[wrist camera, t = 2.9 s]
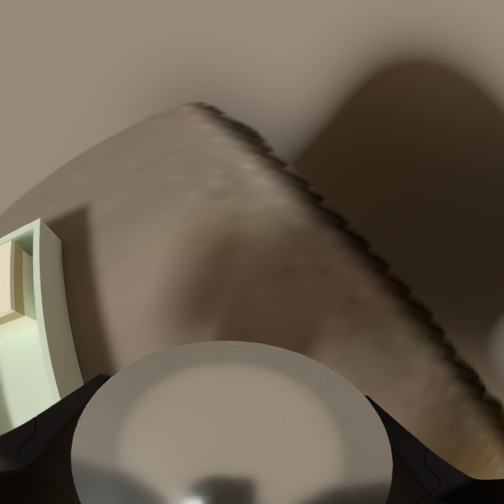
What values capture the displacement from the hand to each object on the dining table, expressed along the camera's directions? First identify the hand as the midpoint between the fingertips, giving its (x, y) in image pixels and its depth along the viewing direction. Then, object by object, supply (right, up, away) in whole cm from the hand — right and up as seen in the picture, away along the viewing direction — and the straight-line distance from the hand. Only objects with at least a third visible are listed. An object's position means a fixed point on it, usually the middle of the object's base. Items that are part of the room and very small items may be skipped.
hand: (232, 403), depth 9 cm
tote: (-17, -3, +5) cm, 18 cm away
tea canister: (-1, -4, +6) cm, 7 cm away
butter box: (-18, +1, +7) cm, 19 cm away
